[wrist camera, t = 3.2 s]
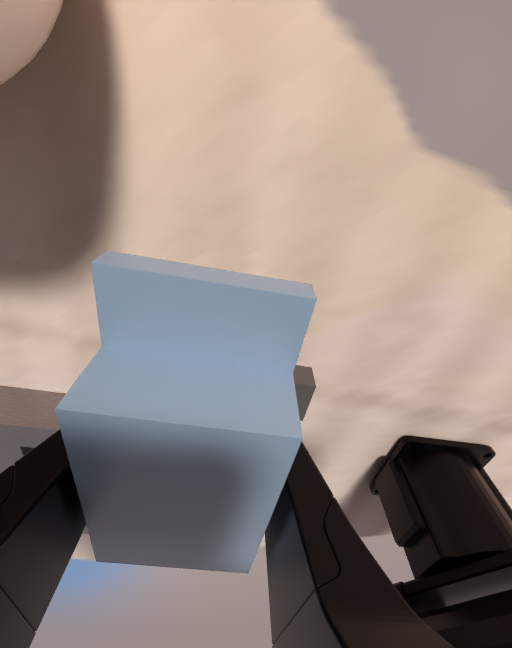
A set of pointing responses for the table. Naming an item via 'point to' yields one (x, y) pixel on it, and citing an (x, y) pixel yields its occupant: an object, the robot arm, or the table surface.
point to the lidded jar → (24, 32)
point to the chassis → (25, 422)
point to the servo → (187, 411)
